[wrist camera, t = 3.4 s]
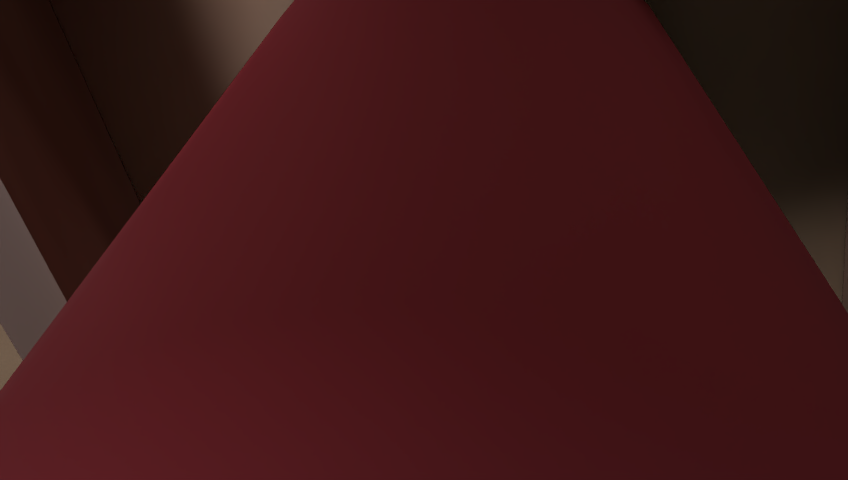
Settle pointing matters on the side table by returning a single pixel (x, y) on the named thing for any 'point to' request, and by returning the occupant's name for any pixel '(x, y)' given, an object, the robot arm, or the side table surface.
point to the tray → (59, 175)
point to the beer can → (447, 273)
